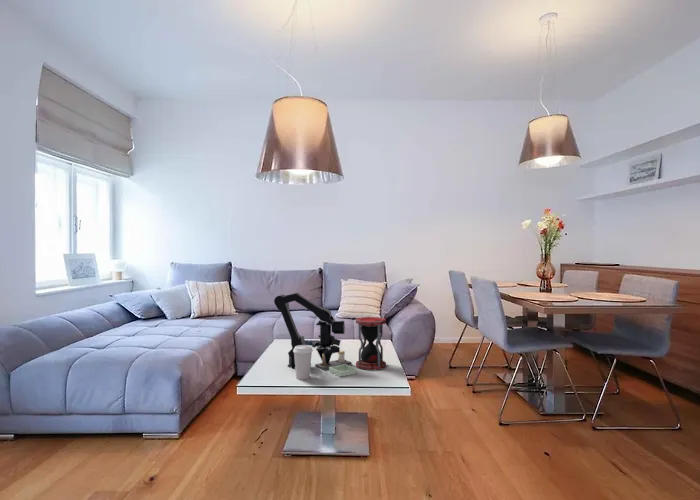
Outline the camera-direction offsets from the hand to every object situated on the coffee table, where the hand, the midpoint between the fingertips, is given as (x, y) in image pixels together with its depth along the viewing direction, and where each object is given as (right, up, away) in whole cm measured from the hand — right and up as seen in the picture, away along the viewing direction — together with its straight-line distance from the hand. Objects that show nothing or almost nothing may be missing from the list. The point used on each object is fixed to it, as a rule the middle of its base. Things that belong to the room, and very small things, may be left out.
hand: (325, 363), depth 218 cm
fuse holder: (+4, -2, +3) cm, 6 cm away
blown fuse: (0, -2, 0) cm, 2 cm away
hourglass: (+24, -2, +2) cm, 24 cm away
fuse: (+8, -2, +6) cm, 10 cm away
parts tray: (+9, -2, -9) cm, 13 cm away
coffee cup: (-10, -3, -17) cm, 20 cm away
